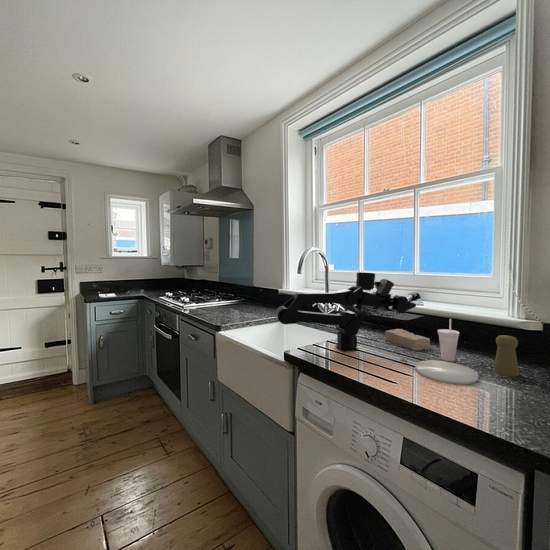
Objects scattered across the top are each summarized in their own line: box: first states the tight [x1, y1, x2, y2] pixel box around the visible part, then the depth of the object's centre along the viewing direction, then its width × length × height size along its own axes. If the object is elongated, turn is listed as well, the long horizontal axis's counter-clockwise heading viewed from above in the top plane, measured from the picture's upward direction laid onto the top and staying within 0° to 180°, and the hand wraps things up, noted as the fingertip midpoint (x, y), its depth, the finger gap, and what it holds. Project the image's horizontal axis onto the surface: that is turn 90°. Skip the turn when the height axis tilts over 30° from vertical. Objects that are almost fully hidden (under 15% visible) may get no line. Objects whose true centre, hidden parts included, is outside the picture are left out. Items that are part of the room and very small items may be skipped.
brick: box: [385, 328, 431, 351], centre depth 118 cm, size 17×8×5 cm, turn 18°
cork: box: [492, 334, 520, 377], centre depth 87 cm, size 6×6×11 cm
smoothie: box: [437, 318, 460, 362], centre depth 99 cm, size 6×6×14 cm
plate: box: [414, 359, 479, 385], centre depth 87 cm, size 16×16×1 cm
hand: (408, 303), depth 115 cm, fingers open, 9 cm apart
